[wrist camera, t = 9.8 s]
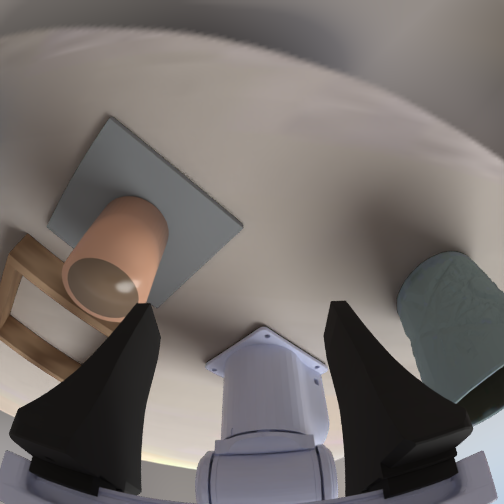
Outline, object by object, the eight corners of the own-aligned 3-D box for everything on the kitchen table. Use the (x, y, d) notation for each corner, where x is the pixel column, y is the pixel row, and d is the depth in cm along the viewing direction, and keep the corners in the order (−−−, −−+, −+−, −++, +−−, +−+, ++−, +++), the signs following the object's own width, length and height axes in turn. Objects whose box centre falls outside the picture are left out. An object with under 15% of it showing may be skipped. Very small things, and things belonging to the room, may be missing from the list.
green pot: (412, 341, 28) (451, 441, 18) (366, 293, 24) (415, 423, 14) (488, 283, 24) (548, 373, 14) (461, 217, 20) (554, 322, 10)
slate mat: (243, 224, 20) (243, 228, 20) (158, 304, 24) (157, 308, 24) (112, 116, 16) (109, 118, 16) (49, 223, 20) (46, 227, 20)
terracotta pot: (183, 230, 20) (164, 294, 15) (141, 270, 22) (117, 333, 17) (125, 181, 18) (84, 233, 13) (88, 229, 20) (49, 285, 15)
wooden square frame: (157, 327, 26) (150, 354, 23) (98, 379, 31) (92, 399, 29) (27, 233, 20) (8, 253, 18) (2, 313, 26) (-10, 331, 23)
